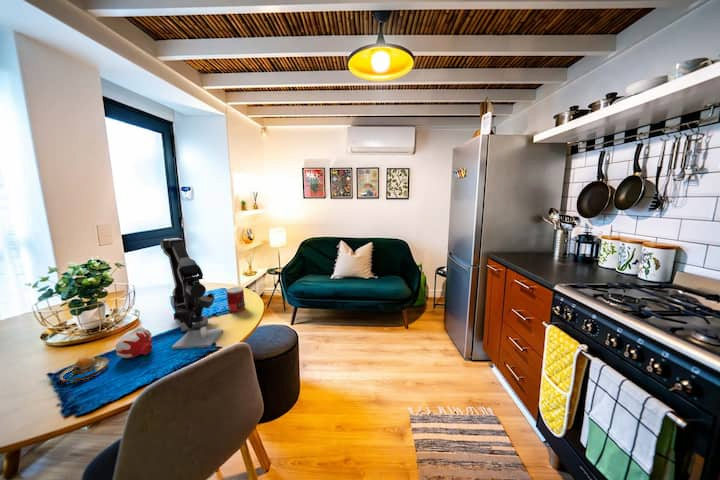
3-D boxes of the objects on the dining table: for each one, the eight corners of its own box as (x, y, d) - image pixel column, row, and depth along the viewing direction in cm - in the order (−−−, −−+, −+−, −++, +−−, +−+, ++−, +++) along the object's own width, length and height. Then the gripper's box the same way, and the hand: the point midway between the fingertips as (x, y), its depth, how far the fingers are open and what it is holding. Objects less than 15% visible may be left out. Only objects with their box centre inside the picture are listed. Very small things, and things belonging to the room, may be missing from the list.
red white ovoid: (140, 341, 104) (166, 352, 100) (105, 357, 94) (133, 370, 89) (139, 320, 102) (165, 331, 98) (103, 334, 92) (131, 347, 87)
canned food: (240, 312, 130) (239, 292, 128) (225, 312, 130) (223, 292, 128) (247, 306, 138) (246, 287, 136) (232, 306, 138) (231, 286, 136)
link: (181, 331, 112) (180, 324, 112) (190, 323, 119) (189, 316, 119) (200, 330, 113) (199, 323, 113) (208, 322, 120) (207, 315, 119)
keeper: (172, 349, 100) (170, 337, 99) (189, 332, 111) (187, 322, 110) (210, 346, 101) (209, 335, 100) (223, 331, 113) (222, 320, 112)
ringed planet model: (107, 357, 95) (104, 338, 94) (113, 371, 87) (109, 351, 86) (58, 374, 86) (53, 354, 84) (59, 391, 78) (54, 369, 77)
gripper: (199, 299, 105) (203, 334, 108) (219, 283, 123) (222, 314, 126) (170, 300, 104) (175, 335, 106) (194, 284, 122) (198, 315, 125)
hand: (195, 324), depth 116 cm, fingers closed on link, 7 cm apart
